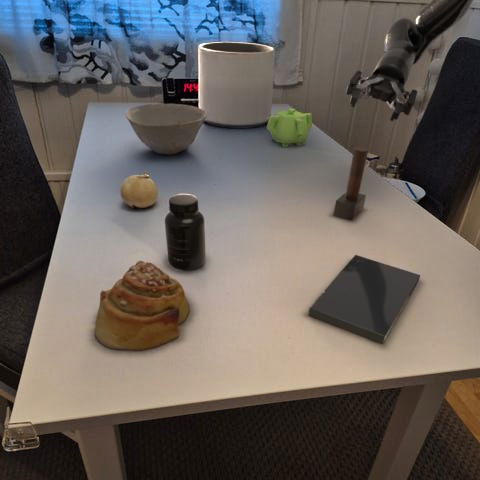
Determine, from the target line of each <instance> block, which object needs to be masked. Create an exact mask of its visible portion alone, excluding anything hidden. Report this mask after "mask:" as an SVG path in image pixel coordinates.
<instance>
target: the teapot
mask: <svg viewBox="0 0 480 480" xmlns="http://www.w3.org/2000/svg"><path fill="white" fill-rule="evenodd" d="M311 128H313V114H312V113H310V112H308V113H307V112H306V113H302V112H301V111H298V110H296V109H295V108H287V110H282V109H278V110H277V112H276V113H275V115H271V116H269V120H268V121H267V125H266V130H268V131H269V132H270V136H271V138H273V139H274V142H276V143H281V146H282V147H284V148H285V147H289V144H295V145H296V146H302V145H303V144H302V143H303V142H305V141H306V140H307V139H308V136H309V130H310V129H311Z"/></svg>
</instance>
